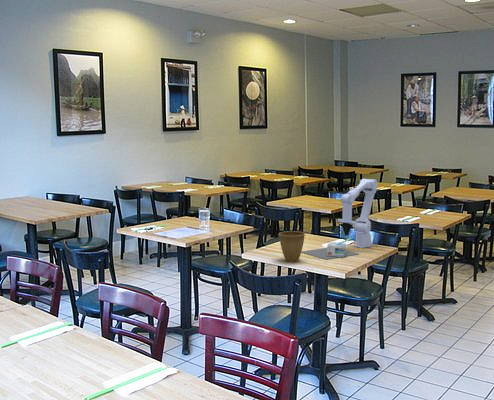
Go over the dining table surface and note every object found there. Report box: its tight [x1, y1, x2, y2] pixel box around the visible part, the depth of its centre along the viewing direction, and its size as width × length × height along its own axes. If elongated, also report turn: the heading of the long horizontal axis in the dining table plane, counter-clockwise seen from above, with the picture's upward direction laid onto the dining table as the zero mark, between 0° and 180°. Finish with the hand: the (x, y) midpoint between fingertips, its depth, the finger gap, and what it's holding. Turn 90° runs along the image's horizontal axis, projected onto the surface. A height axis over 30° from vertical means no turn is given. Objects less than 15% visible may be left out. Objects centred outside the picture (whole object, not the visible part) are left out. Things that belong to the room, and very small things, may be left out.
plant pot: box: [278, 230, 306, 263], centre depth 332 cm, size 15×15×16 cm
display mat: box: [301, 247, 360, 261], centre depth 352 cm, size 26×24×1 cm
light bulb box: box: [326, 241, 347, 258], centre depth 346 cm, size 11×7×11 cm
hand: (346, 235), depth 358 cm, fingers closed
